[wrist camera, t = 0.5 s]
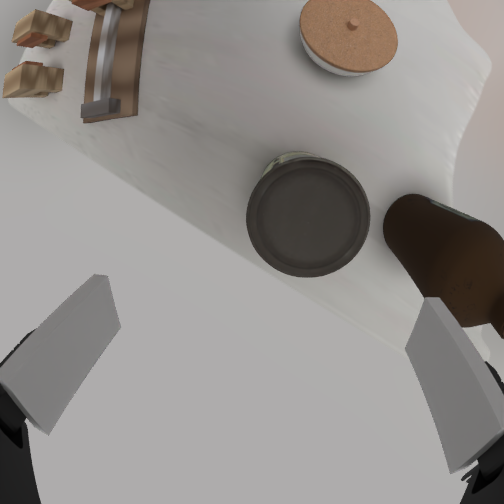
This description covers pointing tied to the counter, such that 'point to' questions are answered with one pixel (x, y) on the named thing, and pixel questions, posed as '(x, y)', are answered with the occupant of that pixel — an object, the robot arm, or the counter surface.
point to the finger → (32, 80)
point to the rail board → (115, 63)
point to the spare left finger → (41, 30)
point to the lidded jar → (347, 36)
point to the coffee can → (307, 215)
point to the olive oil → (450, 258)
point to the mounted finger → (102, 5)
